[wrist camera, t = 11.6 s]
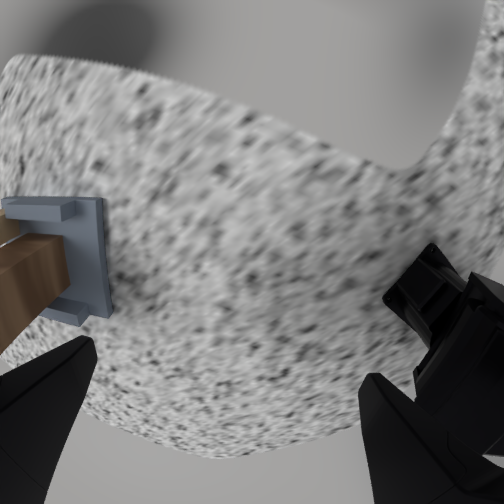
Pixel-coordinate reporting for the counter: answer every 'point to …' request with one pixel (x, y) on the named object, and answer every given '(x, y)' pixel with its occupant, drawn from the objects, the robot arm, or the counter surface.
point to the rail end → (29, 281)
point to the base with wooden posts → (66, 250)
